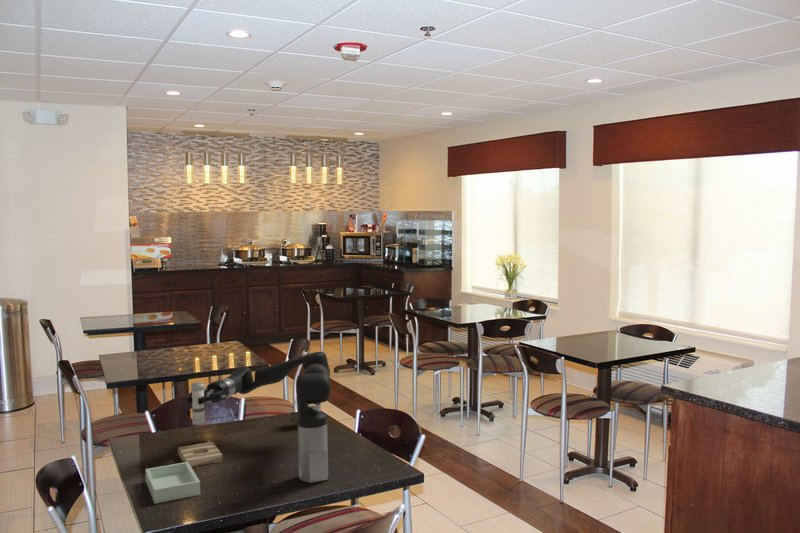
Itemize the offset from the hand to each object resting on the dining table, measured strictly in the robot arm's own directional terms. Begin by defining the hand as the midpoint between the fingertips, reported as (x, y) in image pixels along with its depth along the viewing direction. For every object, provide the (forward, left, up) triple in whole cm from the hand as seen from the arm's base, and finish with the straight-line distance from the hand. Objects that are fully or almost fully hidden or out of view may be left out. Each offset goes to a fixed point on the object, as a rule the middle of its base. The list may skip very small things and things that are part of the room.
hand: (193, 401), depth 225 cm
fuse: (+2, -2, -8) cm, 9 cm away
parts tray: (-22, +11, -21) cm, 32 cm away
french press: (+22, -50, -21) cm, 59 cm away
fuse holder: (+2, -2, -21) cm, 21 cm away
